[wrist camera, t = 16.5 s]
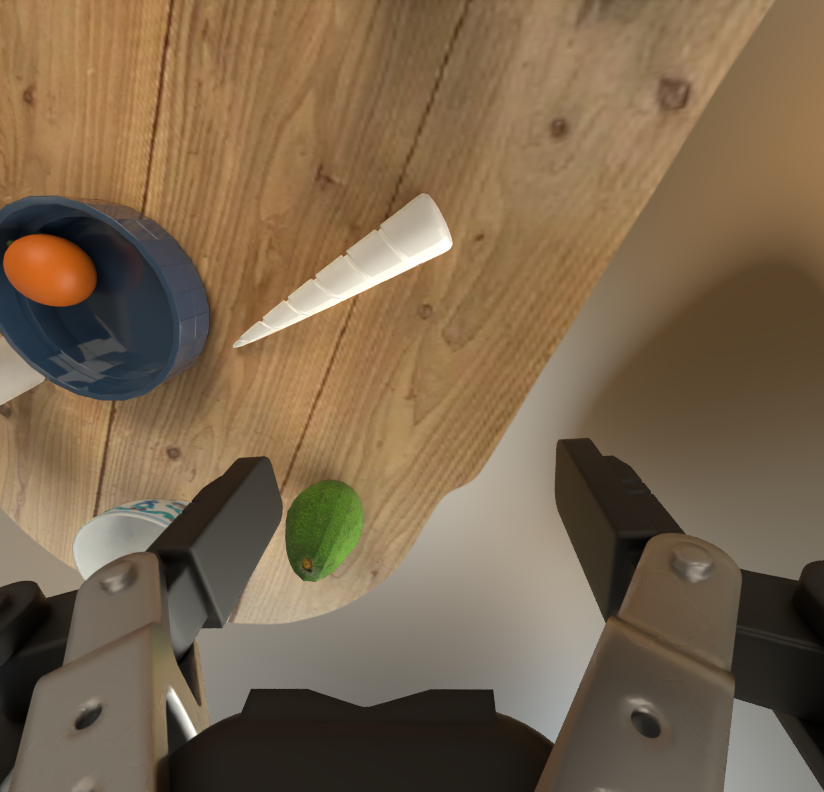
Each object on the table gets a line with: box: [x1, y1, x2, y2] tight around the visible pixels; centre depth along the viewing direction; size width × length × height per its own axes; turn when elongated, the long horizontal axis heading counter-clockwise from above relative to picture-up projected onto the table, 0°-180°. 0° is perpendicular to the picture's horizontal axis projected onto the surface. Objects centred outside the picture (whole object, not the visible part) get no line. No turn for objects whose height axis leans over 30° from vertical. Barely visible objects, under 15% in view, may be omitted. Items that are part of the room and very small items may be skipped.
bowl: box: [0, 196, 209, 401], centre depth 36 cm, size 17×17×6 cm
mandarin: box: [3, 234, 97, 306], centre depth 34 cm, size 6×6×6 cm
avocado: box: [285, 480, 363, 582], centre depth 40 cm, size 8×8×12 cm
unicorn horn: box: [233, 193, 452, 348], centre depth 34 cm, size 5×24×5 cm, turn 116°
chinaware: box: [72, 499, 189, 581], centre depth 46 cm, size 15×15×8 cm
